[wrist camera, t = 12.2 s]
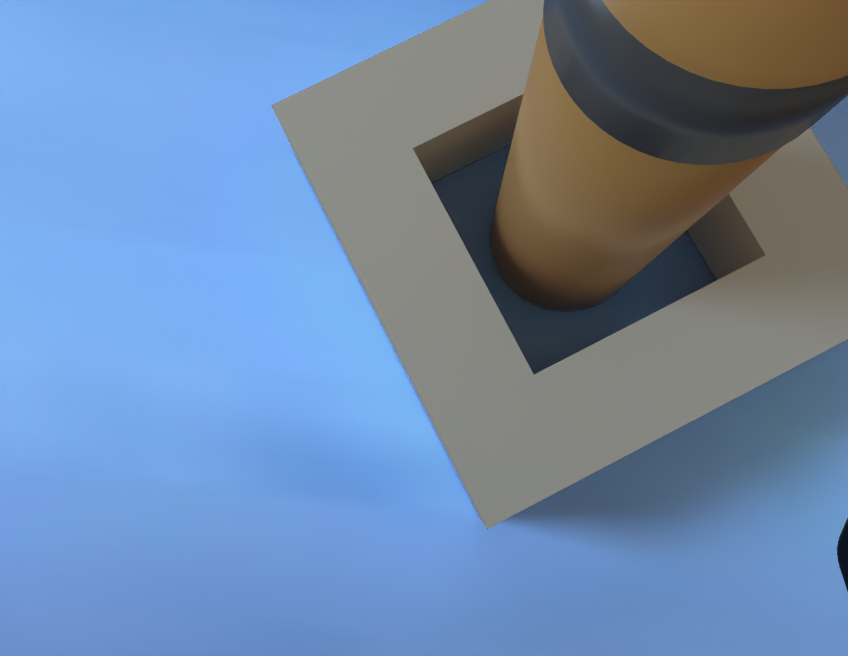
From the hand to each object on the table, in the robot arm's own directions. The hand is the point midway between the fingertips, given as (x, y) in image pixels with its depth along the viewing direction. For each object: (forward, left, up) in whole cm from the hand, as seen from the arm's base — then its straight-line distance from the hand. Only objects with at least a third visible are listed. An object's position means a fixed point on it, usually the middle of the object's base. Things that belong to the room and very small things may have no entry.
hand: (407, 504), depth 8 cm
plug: (+4, -6, -12) cm, 14 cm away
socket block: (+4, -6, -12) cm, 14 cm away
